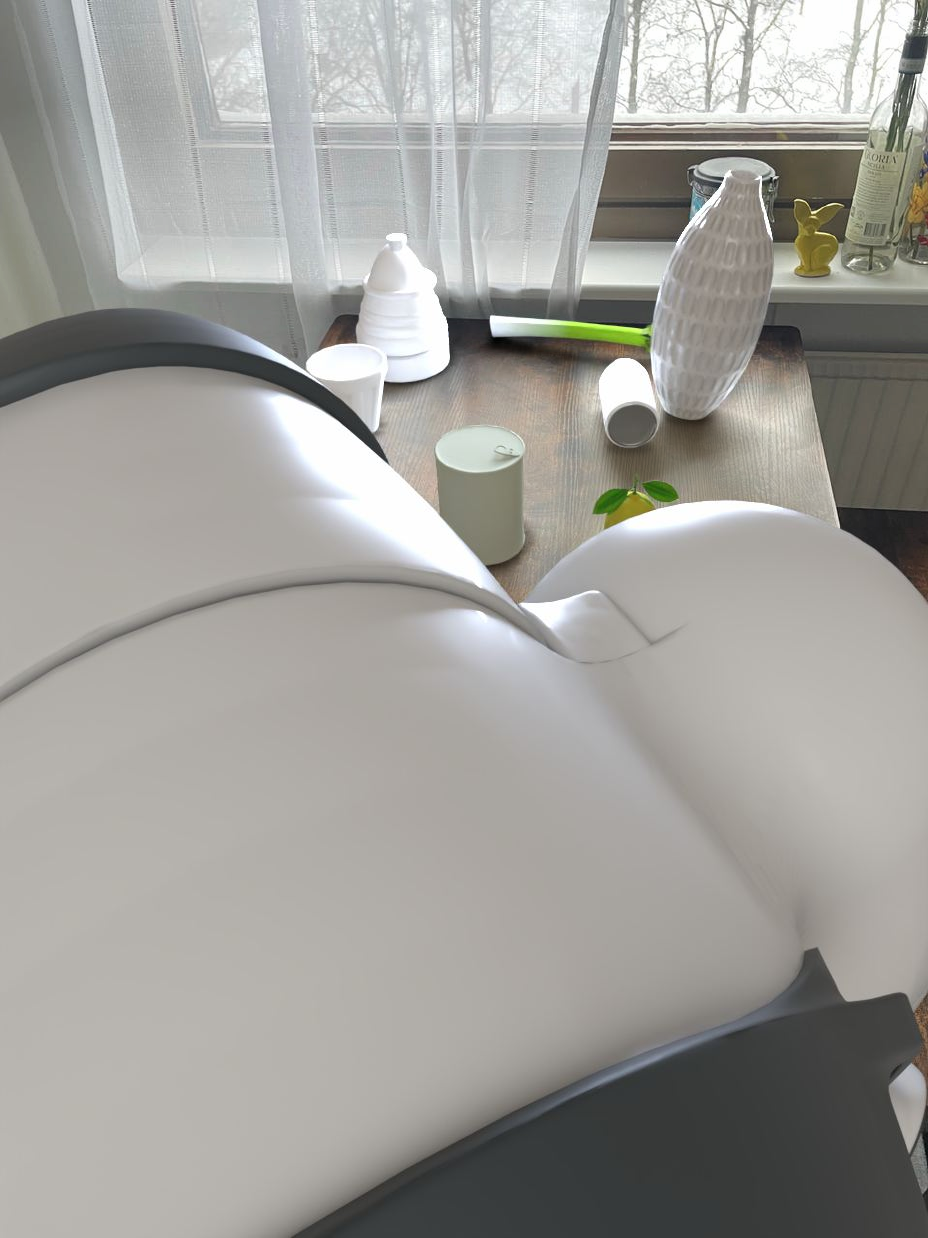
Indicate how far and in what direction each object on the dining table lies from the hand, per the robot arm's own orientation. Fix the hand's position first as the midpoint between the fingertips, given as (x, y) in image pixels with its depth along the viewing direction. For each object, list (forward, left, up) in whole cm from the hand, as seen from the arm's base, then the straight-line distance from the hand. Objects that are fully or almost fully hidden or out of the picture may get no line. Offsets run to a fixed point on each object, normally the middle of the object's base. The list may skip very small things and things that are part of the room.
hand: (452, 864), depth 63 cm
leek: (+89, +29, -4) cm, 93 cm away
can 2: (+64, +13, -3) cm, 65 cm away
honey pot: (+72, +51, -7) cm, 88 cm away
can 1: (+40, +20, -7) cm, 45 cm away
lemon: (+45, +5, -7) cm, 46 cm away
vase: (+76, +10, -7) cm, 77 cm away
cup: (+53, +46, -7) cm, 71 cm away
